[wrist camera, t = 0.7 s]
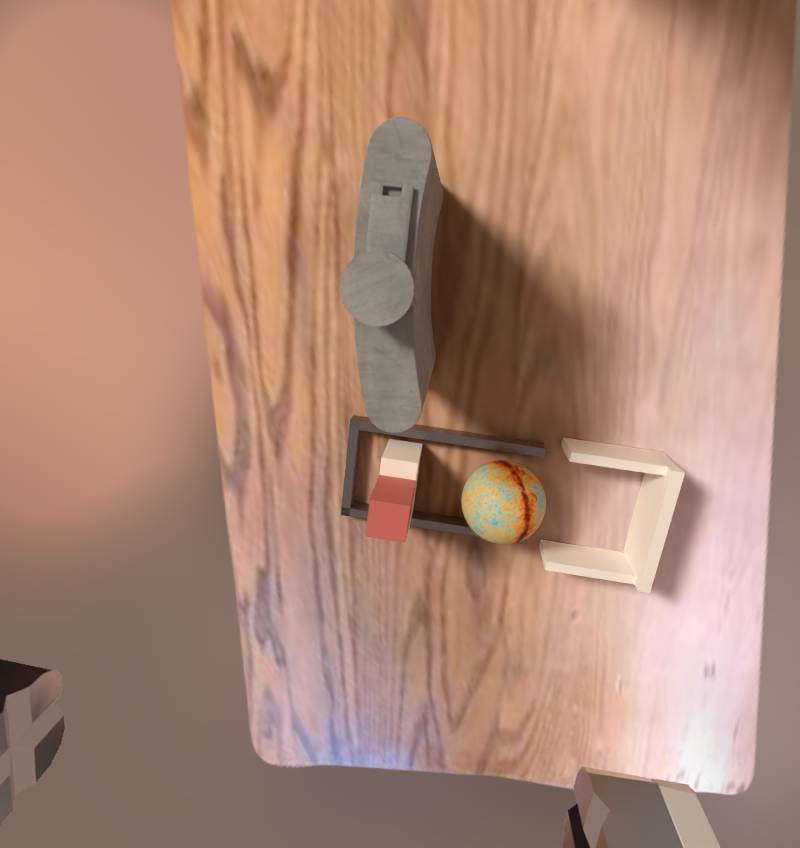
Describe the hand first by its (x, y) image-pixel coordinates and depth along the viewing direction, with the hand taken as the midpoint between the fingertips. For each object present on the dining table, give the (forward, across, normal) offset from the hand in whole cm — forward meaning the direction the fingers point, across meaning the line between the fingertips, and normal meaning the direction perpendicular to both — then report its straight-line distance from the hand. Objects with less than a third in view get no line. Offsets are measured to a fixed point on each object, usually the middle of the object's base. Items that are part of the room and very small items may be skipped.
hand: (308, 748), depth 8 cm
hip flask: (+40, +2, -7) cm, 41 cm away
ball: (+40, -8, +10) cm, 42 cm away
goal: (+40, -16, +10) cm, 45 cm away
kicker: (+40, +1, +10) cm, 42 cm away
